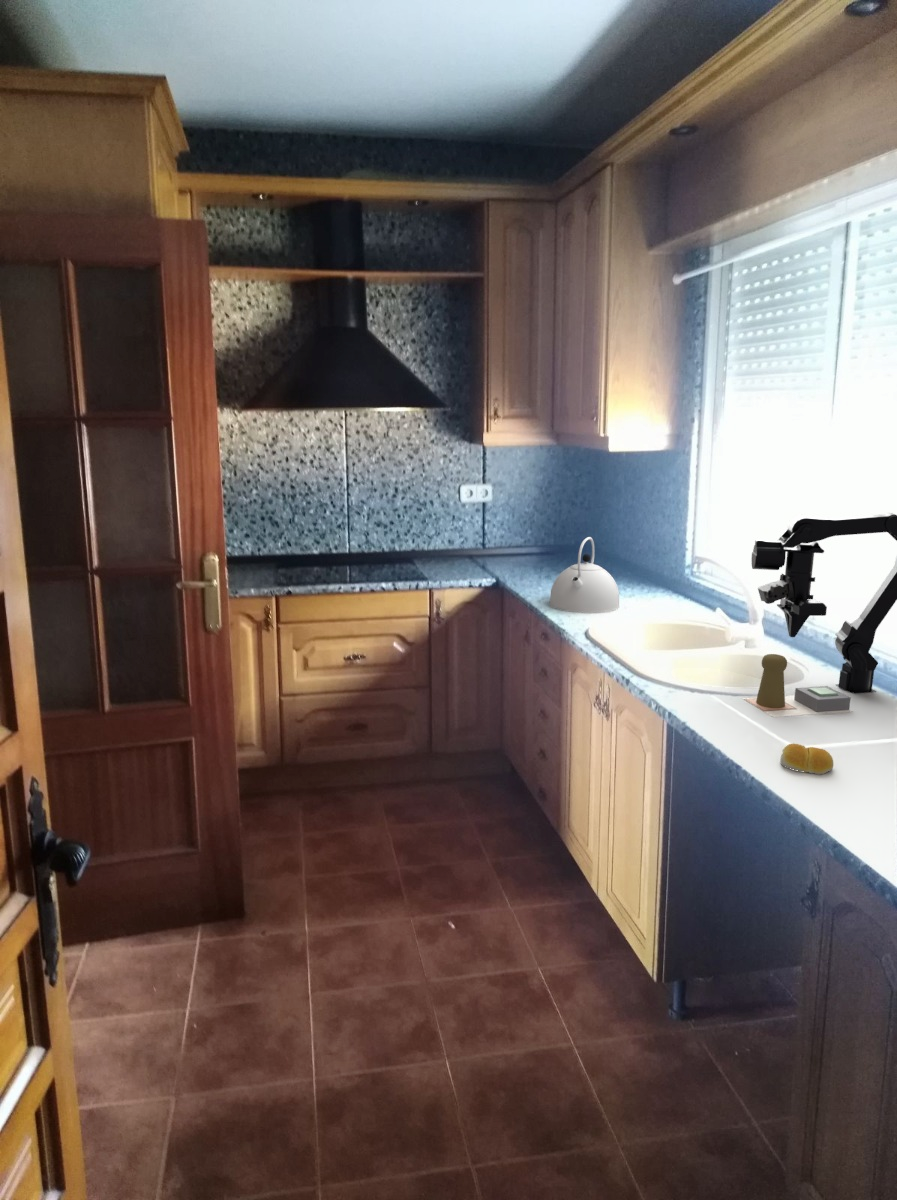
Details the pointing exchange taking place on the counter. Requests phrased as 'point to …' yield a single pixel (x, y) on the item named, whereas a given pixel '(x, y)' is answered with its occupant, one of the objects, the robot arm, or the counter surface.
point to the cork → (772, 682)
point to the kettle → (585, 587)
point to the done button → (822, 692)
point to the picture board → (798, 711)
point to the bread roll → (806, 759)
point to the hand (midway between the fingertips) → (792, 636)
